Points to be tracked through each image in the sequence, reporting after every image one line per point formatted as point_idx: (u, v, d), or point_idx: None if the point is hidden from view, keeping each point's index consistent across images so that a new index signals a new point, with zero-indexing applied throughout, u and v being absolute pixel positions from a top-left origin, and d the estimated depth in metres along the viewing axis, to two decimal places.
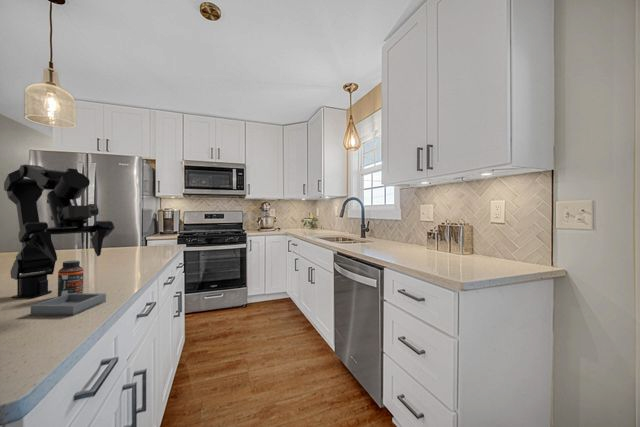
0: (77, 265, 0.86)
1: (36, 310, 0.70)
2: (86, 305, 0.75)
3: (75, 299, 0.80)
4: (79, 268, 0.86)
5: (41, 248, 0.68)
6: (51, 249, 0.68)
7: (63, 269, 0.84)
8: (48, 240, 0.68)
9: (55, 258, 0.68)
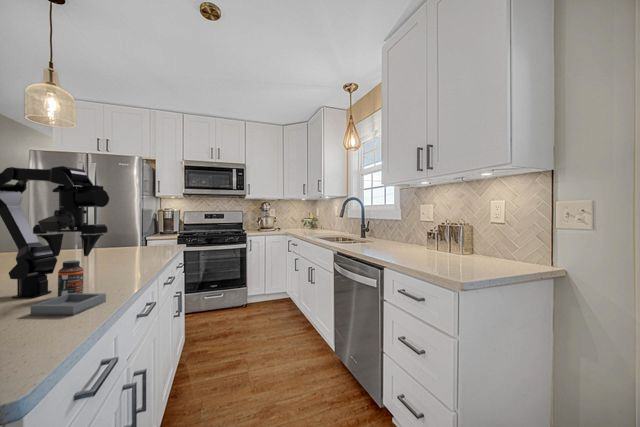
0: (77, 265, 0.86)
1: (36, 310, 0.70)
2: (86, 305, 0.75)
3: (75, 299, 0.80)
4: (79, 268, 0.86)
5: None
6: (51, 248, 0.84)
7: (63, 269, 0.84)
8: (48, 240, 0.84)
9: (54, 255, 0.85)
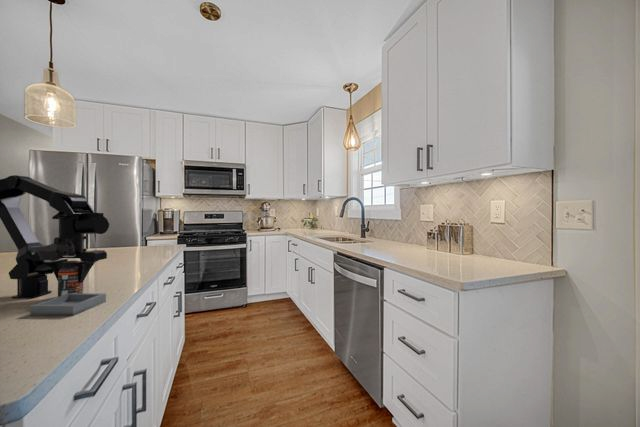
0: None
1: (36, 310, 0.70)
2: (86, 305, 0.75)
3: (75, 299, 0.80)
4: None
5: None
6: (55, 274, 0.85)
7: (63, 269, 0.84)
8: (53, 267, 0.84)
9: None
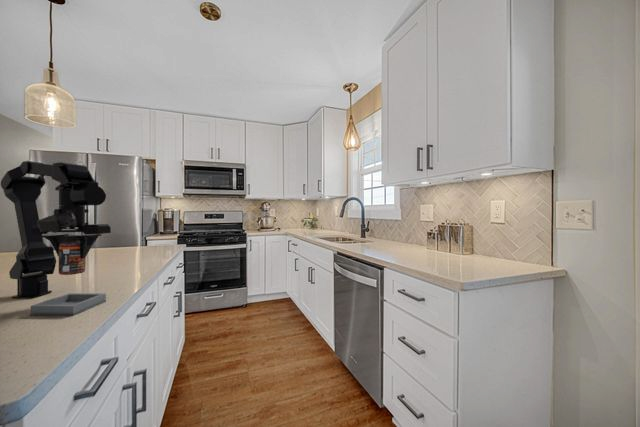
0: None
1: (36, 310, 0.70)
2: (86, 305, 0.75)
3: (75, 299, 0.80)
4: None
5: None
6: (56, 249, 0.79)
7: (64, 243, 0.78)
8: (53, 241, 0.79)
9: None
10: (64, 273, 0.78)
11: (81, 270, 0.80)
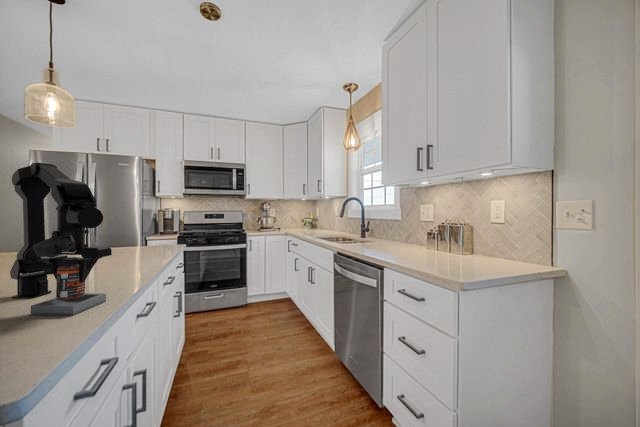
0: None
1: (36, 310, 0.70)
2: (86, 305, 0.75)
3: (75, 299, 0.80)
4: None
5: None
6: (54, 273, 0.75)
7: (62, 267, 0.74)
8: (51, 265, 0.74)
9: None
10: (62, 299, 0.73)
11: (79, 295, 0.76)
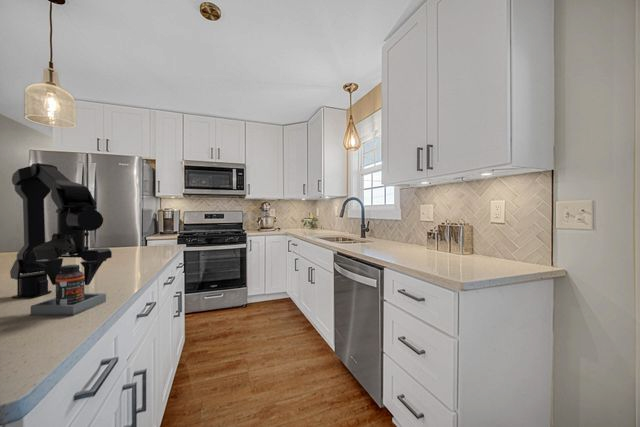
0: (77, 270, 0.76)
1: (36, 310, 0.70)
2: (86, 305, 0.75)
3: None
4: (79, 273, 0.76)
5: None
6: (49, 275, 0.75)
7: (61, 275, 0.74)
8: (46, 267, 0.74)
9: (52, 283, 0.75)
10: None
11: None
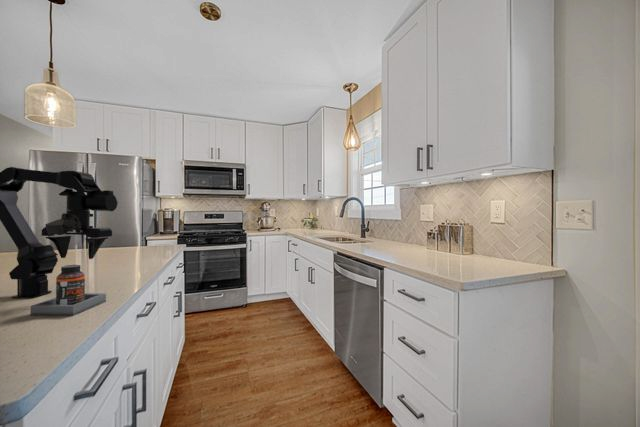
0: (77, 270, 0.76)
1: (36, 310, 0.70)
2: (86, 305, 0.75)
3: None
4: (80, 273, 0.76)
5: None
6: (58, 249, 0.87)
7: (62, 275, 0.74)
8: (56, 242, 0.86)
9: (61, 257, 0.87)
10: None
11: None
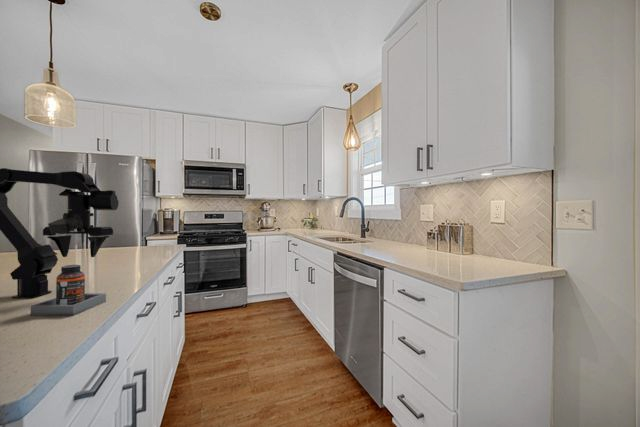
0: (78, 270, 0.76)
1: (36, 310, 0.70)
2: (86, 305, 0.75)
3: None
4: (80, 273, 0.76)
5: None
6: (60, 249, 0.89)
7: (62, 275, 0.74)
8: (57, 242, 0.88)
9: None
10: None
11: None
